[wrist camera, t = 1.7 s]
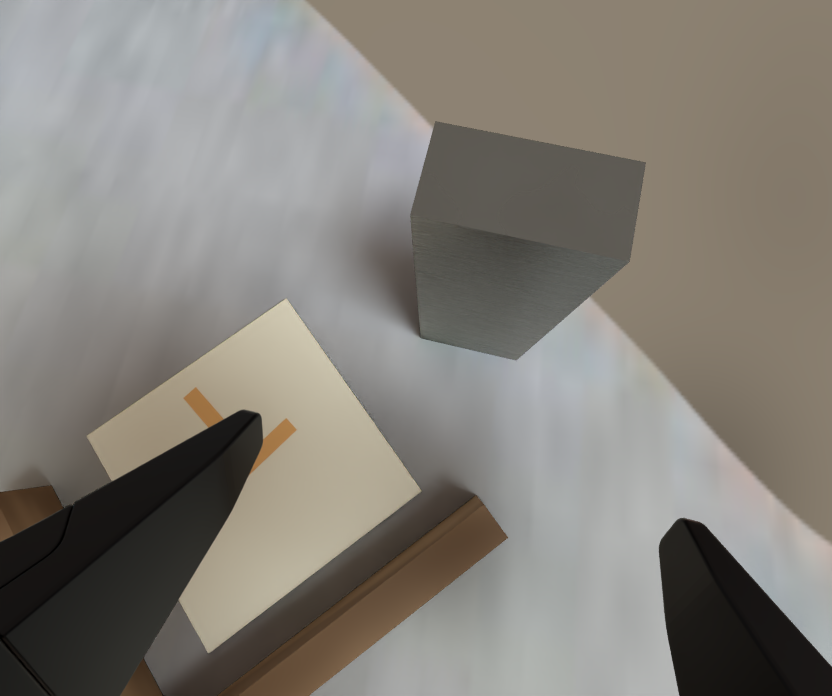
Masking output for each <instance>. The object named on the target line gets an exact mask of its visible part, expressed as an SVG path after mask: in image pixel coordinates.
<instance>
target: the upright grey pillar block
mask: <svg viewBox="0 0 832 696" xmlns="http://www.w3.org/2000/svg"><path fill="white" fill-rule="evenodd" d="M645 164H646V163H645V162H641V161H636V160H631V159H626V158H620V157H615V156H610V155H605V154H599V153H594V152H590V151H585V150H580V149H574V148H569V147H564V146H559V145H554V144H549V143H544V142H539V141H533V140H528V139H523V138H518V137H513V136H508V135H503V134H498V133H492V132H487V131H482V130H477V129H472V128H467V127H462V126H457V125H452V124H446V123H441V122H435V125H434V128H433V132H432V136H431V140H430V143H429V147H428V151H427V155H426V158H425V162H424V166H423V170H422V173H421V177H420V181H419V185H418V188H417V192H416V196H415V200H414V203H413V207H412V211H411V214H410V217H411V229H412V241H413V252H414V264H415V276H416V288H417V300H418V312H419V323H420V335H421V338H422V339H427V340H431V341H435V342H440V343H444V344H448V345H452V346H457V347H461V348H465V349H470V350H474V351H478V352H483V353H487V354H491V355H495V356H500V357H504V358H508V359H513V360H517V359H518V358H520V357H521V356H522V355H523V354H524V353H525V352H526V351H528V350H529V349H530V348H531V347H532V346H533V345H535V344H536V343H537V342H538V341H539V340H540V339H541V338H543V337H544V336H545V335H546V334H547V333H548V332H549V331H551V330H552V329H553V328H554V327H555V326H556V325H557V324H559V323H560V322H561V321H562V320H563V319H564V318H565V317H567V316H568V315H569V314H570V313H571V312H572V311H574V310H575V309H576V308H577V307H578V306H579V305H580V304H582V303H583V302H584V301H585V300H586V299H587V298H588V297H590V296H591V295H592V294H593V293H594V292H595V291H596V290H598V289H599V288H600V287H601V286H602V285H603V284H604V283H605V282H607V281H608V280H609V279H610V278H611V277H613V276H614V275H615V274H616V273H617V272H618V271H619V270H620V269H622V268H623V267H624V266H625V265H626V264H627V263H629V262H630V256H631V250H632V244H633V237H634V231H635V225H636V219H637V213H638V207H639V201H640V195H641V188H642V183H643V176H644V170H645Z"/></svg>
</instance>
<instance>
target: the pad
mask: <svg viewBox="0 0 832 696" xmlns="http://www.w3.org/2000/svg"><path fill="white" fill-rule="evenodd" d="M243 409H245V410H249V411H253V412H257V413H259V414H260V415H261V417H262V428H263V444H262V448H261V450H260V452H259V455H258V457H257V459H256V461H255V463H254V465H253V467H252V470H251V472H250V474H249V476H248V478H247V480H246V482H245V485H244V487H243V489H242V491H241V493H240V495H239V497H238V500H237V502H236V504H235V506H234V508H233V510H232V512H231V513H230V515H229V517H228V519H227V520H226V522H225V524H224V525H223V527H222V529H221V530H220V532H219V534H218V535H217V537H216V539H215V540H214V542H213V544H212V545H211V547H210V549H209V550H208V552H207V553H206V555H205V557H204V558H203V560H202V562H201V563H200V565H199V567H198V568H197V570H196V572H195V573H194V575H193V577H192V578H191V580H190V582H189V583H188V585H187V586H186V588H185V590H184V591H183V593H182V595H181V596H180V598H179V602H180V604H181V605H182V607H183V609H184V611H185V613H186V614H187V616H188V618H189V620H190V622H191V623H192V625H193V627H194V629H195V630H196V632H197V634H198V636H199V638H200V639H201V641H202V643H203V645H204V646H205V648H206V650H207V652H208V654H209V653H210V652H211V651H213V650H214V649H215V648H217V647H218V646H219V645H221V644H222V643H223V642H225V641H226V640H227V639H229V638H230V637H231V636H232V635H234V634H235V633H236V632H238V631H239V630H240V629H242V628H243V627H244V626H246V625H247V624H248V623H250V622H251V621H252V620H253V619H255V618H256V617H257V616H259V615H260V614H261V613H263V612H264V611H265V610H267V609H268V608H269V607H270V606H272V605H273V604H274V603H276V602H277V601H278V600H280V599H281V598H282V597H284V596H285V595H286V594H288V593H289V592H290V591H291V590H293V589H294V588H295V587H297V586H298V585H299V584H301V583H302V582H303V581H305V580H306V579H307V578H309V577H310V576H311V575H312V574H314V573H315V572H316V571H318V570H319V569H320V568H322V567H323V566H324V565H326V564H327V563H328V562H329V561H331V560H332V559H333V558H335V557H336V556H337V555H339V554H340V553H341V552H343V551H344V550H345V549H347V548H348V547H349V546H350V545H352V544H353V543H354V542H356V541H357V540H358V539H360V538H361V537H362V536H364V535H365V534H366V533H368V532H369V531H370V530H371V529H373V528H374V527H375V526H377V525H378V524H379V523H381V522H382V521H383V520H385V519H386V518H387V517H388V516H390V515H391V514H392V513H394V512H395V511H396V510H398V509H399V508H400V507H402V506H403V505H404V504H406V503H407V502H408V501H409V500H411V499H412V498H413V497H415V496H416V495H417V494H419V493H420V492H421V491H422V490H421V489H420V487H419V486H418V485H417V483H416V482H415V480H414V479H413V478H412V476H411V475H410V473H409V472H408V470H407V469H406V468H405V466H404V465H403V463H402V462H401V460H400V459H399V458H398V456H397V455H396V453H395V452H394V450H393V449H392V448H391V446H390V445H389V443H388V442H387V441H386V439H385V438H384V436H383V435H382V433H381V432H380V431H379V429H378V428H377V426H376V425H375V423H374V422H373V421H372V419H371V418H370V416H369V415H368V413H367V412H366V411H365V409H364V408H363V406H362V405H361V404H360V402H359V401H358V399H357V398H356V396H355V395H354V394H353V392H352V391H351V389H350V388H349V386H348V385H347V384H346V382H345V381H344V379H343V378H342V376H341V375H340V374H339V372H338V371H337V369H336V368H335V367H334V365H333V364H332V362H331V361H330V359H329V358H328V357H327V355H326V354H325V352H324V351H323V349H322V348H321V347H320V345H319V344H318V342H317V341H316V339H315V338H314V337H313V335H312V334H311V332H310V331H309V330H308V328H307V327H306V325H305V324H304V322H303V321H302V320H301V318H300V317H299V315H298V314H297V312H296V311H295V310H294V308H293V307H292V305H291V304H290V302H289V301H288V300H287V299H285V300H283V301H282V302H280V303H279V304H278V305H276V306H275V307H273V308H272V309H270V310H269V311H267V312H266V313H264V314H263V315H262V316H260V317H259V318H257V319H256V320H254V321H253V322H251V323H250V324H248V325H247V326H246V327H244V328H243V329H241V330H240V331H238V332H237V333H235V334H234V335H233V336H231V337H230V338H228V339H227V340H225V341H224V342H222V343H221V344H219V345H218V346H217V347H215V348H214V349H212V350H211V351H209V352H208V353H206V354H205V355H203V356H202V357H201V358H199V359H198V360H196V361H195V362H193V363H192V364H190V365H189V366H187V367H186V368H185V369H183V370H182V371H180V372H179V373H177V374H176V375H174V376H173V377H172V378H170V379H169V380H167V381H166V382H164V383H163V384H161V385H160V386H158V387H157V388H156V389H154V390H153V391H151V392H150V393H148V394H147V395H145V396H144V397H142V398H141V399H140V400H138V401H137V402H135V403H134V404H132V405H131V406H129V407H128V408H126V409H125V410H124V411H122V412H121V413H119V414H118V415H116V416H115V417H113V418H112V419H111V420H109V421H108V422H106V423H105V424H103V425H102V426H100V427H99V428H97V429H96V430H95V431H93V432H92V433H90V434H89V435H87V438H88V440H89V441H90V443H91V445H92V447H93V449H94V450H95V452H96V454H97V456H98V457H99V459H100V461H101V463H102V465H103V466H104V468H105V470H106V472H107V474H108V475H109V477H110V479H111V481H113V480H115V479H117V478H119V477H121V476H122V475H124V474H126V473H128V472H130V471H131V470H133V469H135V468H137V467H139V466H140V465H142V464H144V463H146V462H148V461H149V460H151V459H153V458H155V457H157V456H158V455H160V454H162V453H164V452H166V451H167V450H169V449H171V448H173V447H175V446H176V445H178V444H180V443H182V442H184V441H185V440H187V439H189V438H191V437H192V436H194V435H196V434H198V433H200V432H201V431H203V430H205V429H207V428H209V427H210V426H212V425H214V424H216V423H218V422H219V421H221V420H223V419H225V418H227V417H228V416H230V415H232V414H234V413H236V412H237V411H239V410H243Z"/></svg>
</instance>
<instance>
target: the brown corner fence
mask: <svg viewBox="0 0 832 696" xmlns="http://www.w3.org/2000/svg"><path fill="white" fill-rule="evenodd" d="M61 509H63V507H62V505H61V503H60V501H59V499H58V497H57V496H56V494H55V492H54V490H53V488H52V486H43V487H36V488H28V489H20V490H13V491H5V492H0V542H1V541H3V540H5V539H7V538H9V537H11V536H13V535H15V534H17V533H19V532H20V531H22V530H24V529H26V528H28V527H30V526H32V525H34V524H35V523H37V522H39V521H41V520H43V519H45V518H47V517H49V516H50V515H52V514H54V513H56V512H58V511H59V510H61ZM507 538H508V537H507V536H506V534H505V533H504V531H503V530H502V529H501V527H500V526H499V525H498V523H497V522H496V520H495V519H494V518H493V516H492V515H491V514H490V512H489V511H488V509H487V508H486V507H485V505H484V504H483V503H482V501H481V500H480V499H479V498H478V497H477V495H476V496H474V497H473V498H472V499H470V500H469V501H468V502H467V503H465V504H464V505H463V506H461V507H460V508H459V509H458V510H456V511H455V512H454V513H452V514H451V515H450V516H448V517H447V518H446V519H445V520H443V521H442V522H441V523H439V524H438V525H437V526H436V527H434V528H433V529H432V530H430V531H429V532H428V533H427V534H425V535H424V536H423V537H421V538H420V539H419V540H418V541H416V542H415V543H414V544H412V545H411V546H410V547H408V548H407V549H406V550H405V551H403V552H402V553H401V554H399V555H398V556H397V557H396V558H394V559H393V560H392V561H390V562H389V563H388V564H387V565H385V566H384V567H383V568H381V569H380V570H379V571H377V572H376V573H375V574H374V575H372V576H371V577H370V578H368V579H367V580H366V581H365V582H363V583H362V584H361V585H359V586H358V587H357V588H356V589H354V590H353V591H352V592H350V593H349V594H348V595H347V596H345V597H344V598H343V599H341V600H340V601H339V602H337V603H336V604H335V605H334V606H332V607H331V608H330V609H328V610H327V611H326V612H325V613H323V614H322V615H321V616H319V617H318V618H317V619H316V620H314V621H313V622H312V623H310V624H309V625H308V626H306V627H305V628H304V629H303V630H301V631H300V632H299V633H297V634H296V635H295V636H294V637H292V638H291V639H290V640H288V641H287V642H286V643H285V644H283V645H282V646H281V647H279V648H278V649H277V650H276V651H274V652H273V653H272V654H270V655H269V656H268V657H266V658H265V659H264V660H263V661H261V662H260V663H259V664H257V665H256V666H255V667H254V668H252V669H251V670H250V671H248V672H247V673H246V674H245V675H243V676H242V677H241V678H239V679H238V680H237V681H235V682H234V683H233V684H232V685H230V686H229V687H228V688H226V689H225V690H224V691H223V692H221V693H220V694H219V695H217V696H309V695H310V694H311V693H313V692H314V691H315V690H316V689H318V688H319V687H320V686H322V685H323V684H324V683H325V682H327V681H328V680H329V679H330V678H332V677H333V676H334V675H335V674H337V673H338V672H339V671H340V670H342V669H343V668H344V667H345V666H347V665H348V664H349V663H351V662H352V661H353V660H354V659H356V658H357V657H358V656H359V655H361V654H362V653H363V652H364V651H366V650H367V649H368V648H369V647H371V646H372V645H373V644H375V643H376V642H377V641H378V640H380V639H381V638H382V637H383V636H385V635H386V634H387V633H388V632H390V631H391V630H392V629H393V628H395V627H396V626H397V625H398V624H400V623H401V622H402V621H404V620H405V619H406V618H407V617H409V616H410V615H411V614H412V613H414V612H415V611H416V610H417V609H419V608H420V607H421V606H422V605H424V604H425V603H426V602H428V601H429V600H430V599H431V598H433V597H434V596H435V595H436V594H438V593H439V592H440V591H441V590H443V589H444V588H445V587H446V586H448V585H449V584H450V583H451V582H453V581H454V580H455V579H457V578H458V577H459V576H460V575H462V574H463V573H464V572H465V571H467V570H468V569H469V568H470V567H472V566H473V565H474V564H475V563H477V562H478V561H479V560H481V559H482V558H483V557H484V556H486V555H487V554H488V553H489V552H491V551H492V550H493V549H494V548H496V547H497V546H498V545H499V544H501V543H502V542H503V541H504V540H506V539H507ZM120 696H163V695H162V693H161V691H160V689H159V688H158V686H157V684H156V682H155V680H154V678H153V676H152V674H151V672H150V671H149V669H148V667H147V665H146V663H145V661H144V659H142V661H141V662H140V664H139V666H138V667H137V669H136V671H135V672H134V674H133V675H132V677H131V679H130V680H129V682H128V684H127V685H126V687H125V689H124V690H123V692H122V694H121V695H120Z"/></svg>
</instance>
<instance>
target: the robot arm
mask: <svg viewBox="0 0 832 696" xmlns="http://www.w3.org/2000/svg"><path fill="white" fill-rule="evenodd" d="M262 444H263V428H262V417H261V415H260V414H259V413H257V412H253V411H249V410H245V409H243V410H239V411H237V412H236V413H234V414H232V415H230V416H228V417H227V418H225V419H223V420H221V421H219V422H218V423H216V424H214V425H212V426H210V427H209V428H207V429H205V430H203V431H201V432H200V433H198V434H196V435H194V436H192V437H191V438H189V439H187V440H185V441H184V442H182V443H180V444H178V445H176V446H175V447H173V448H171V449H169V450H167V451H166V452H164V453H162V454H160V455H158V456H157V457H155V458H153V459H151V460H149V461H148V462H146V463H144V464H142V465H140V466H139V467H137V468H135V469H133V470H131V471H130V472H128V473H126V474H124V475H122V476H121V477H119V478H117V479H115V480H113V481H112V482H110V483H108V484H106V485H104V486H103V487H101V488H99V489H97V490H96V491H94V492H92V493H90V494H88V495H87V496H85V497H83V498H81V499H79V500H78V501H76V502H75V503H74V505H68V506H67V507H65V508H63V509H61V510H59V511H58V512H56V513H54V514H52V515H50V516H49V517H47V518H45V519H43V520H41V521H39V522H37V523H35V524H34V525H32V526H30V527H28V528H26V529H24V530H22V531H20V532H19V533H17V534H15V535H13V536H11V537H9V538H7V539H5V540H3V541H1V542H0V696H120V695H121V694H122V692H123V690H124V689H125V687H126V685H127V684H128V682H129V680H130V679H131V677H132V675H133V674H134V672H135V671H136V669H137V667H138V666H139V664H140V662H141V661H142V659H143V657H144V656H145V654H146V652H147V651H148V649H149V647H150V646H151V644H152V642H153V641H154V639H155V638H156V636H157V634H158V633H159V631H160V629H161V628H162V626H163V624H164V623H165V621H166V619H167V618H168V616H169V614H170V613H171V611H172V610H173V608H174V606H175V605H176V603H177V601H178V600H179V598H180V596H181V595H182V593H183V591H184V590H185V588H186V586H187V585H188V583H189V582H190V580H191V578H192V577H193V575H194V573H195V572H196V570H197V568H198V567H199V565H200V563H201V562H202V560H203V558H204V557H205V555H206V553H207V552H208V550H209V549H210V547H211V545H212V544H213V542H214V540H215V539H216V537H217V535H218V534H219V532H220V530H221V529H222V527H223V525H224V524H225V522H226V520H227V519H228V517H229V515H230V513H231V512H232V510H233V508H234V506H235V504H236V502H237V500H238V497H239V495H240V493H241V491H242V489H243V487H244V485H245V482H246V480H247V478H248V476H249V474H250V472H251V470H252V467H253V465H254V463H255V461H256V459H257V457H258V455H259V452H260V450H261V448H262ZM659 558H660V569H661V580H662V591H663V602H664V613H665V622H666V629H667V635H668V640H669V646H670V651H671V656H672V661H673V666H674V671H675V676H676V681H677V686H678V691H679V696H832V666H831V665H830V664H829V663H828V662H827V661H826V660H825V659H824V658H823V656H822V655H821V654H820V653H819V652H818V651H817V650H816V649H815V647H814V646H813V645H812V644H811V643H810V642H809V641H808V640H807V639H806V637H805V636H804V635H803V634H802V633H801V632H800V631H799V630H798V629H797V627H796V626H795V625H794V624H793V623H792V622H791V621H790V620H789V618H788V617H787V616H786V615H785V614H784V613H783V612H782V611H781V610H780V608H779V607H778V606H777V605H776V604H775V603H774V602H773V601H772V600H771V598H770V597H769V596H768V595H767V594H766V593H765V592H764V591H763V589H762V588H761V587H760V586H759V585H758V584H757V583H756V582H755V581H754V579H753V578H752V577H751V576H750V575H749V574H748V573H747V572H746V571H745V569H744V568H743V567H742V566H741V565H740V564H739V563H738V562H737V561H736V559H735V558H734V557H733V556H732V555H731V554H730V553H729V552H728V550H727V549H726V548H725V547H724V546H723V545H722V544H721V543H720V542H719V540H718V539H717V538H716V537H715V536H714V535H713V534H712V533H711V532H710V530H709V529H708V528H707V527H706V526H705V525H704V524H702V523H700V522H698V521H694V520H690V519H686V518H680V519H678V520H677V521H676V522H675V523H674V524H673V525H672V527H671V528H670V529H669V530H668V532H667V533H666V534H665V535H664V537H663V538H662V539H661V542H660V545H659Z"/></svg>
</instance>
